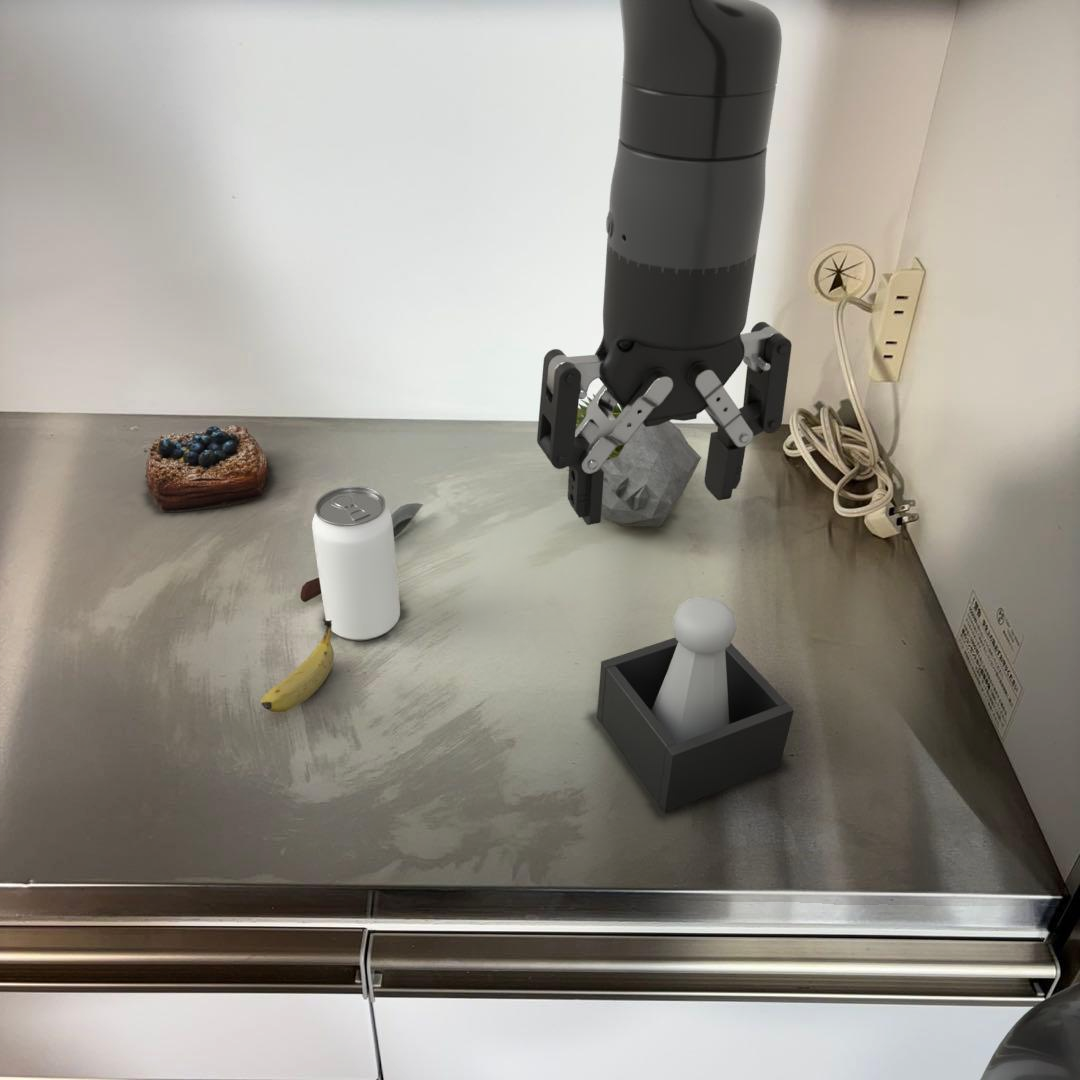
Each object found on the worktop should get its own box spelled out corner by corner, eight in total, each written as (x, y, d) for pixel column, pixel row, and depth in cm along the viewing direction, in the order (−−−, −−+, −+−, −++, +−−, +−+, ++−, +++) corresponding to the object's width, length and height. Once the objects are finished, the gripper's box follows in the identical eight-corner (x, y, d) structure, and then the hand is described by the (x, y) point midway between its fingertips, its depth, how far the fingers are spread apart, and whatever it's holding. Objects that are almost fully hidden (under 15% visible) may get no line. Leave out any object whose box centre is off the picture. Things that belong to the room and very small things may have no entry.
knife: (417, 510, 99) (416, 485, 97) (430, 515, 98) (428, 490, 96) (298, 611, 85) (293, 585, 84) (311, 617, 85) (307, 590, 83)
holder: (780, 766, 72) (794, 709, 69) (664, 813, 68) (672, 755, 65) (705, 680, 79) (714, 624, 76) (596, 717, 76) (600, 661, 72)
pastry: (149, 464, 105) (137, 416, 101) (262, 447, 108) (254, 400, 105) (151, 519, 96) (138, 469, 93) (274, 499, 100) (266, 450, 96)
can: (375, 586, 88) (363, 474, 81) (415, 622, 84) (406, 508, 77) (312, 614, 85) (294, 500, 78) (350, 654, 81) (335, 537, 74)
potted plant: (645, 542, 89) (512, 461, 92) (659, 552, 101) (541, 480, 105) (715, 430, 88) (578, 352, 92) (720, 453, 101) (599, 384, 104)
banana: (286, 743, 73) (279, 705, 71) (258, 735, 74) (250, 698, 71) (347, 656, 81) (342, 620, 78) (321, 650, 81) (316, 614, 79)
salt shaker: (730, 771, 72) (756, 639, 64) (652, 771, 71) (669, 638, 64) (717, 713, 76) (740, 584, 69) (645, 713, 76) (660, 583, 69)
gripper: (577, 277, 44) (565, 563, 53) (846, 247, 48) (790, 518, 57) (524, 226, 49) (521, 492, 59) (768, 202, 53) (729, 455, 63)
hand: (654, 504), depth 58 cm, fingers open, 8 cm apart
